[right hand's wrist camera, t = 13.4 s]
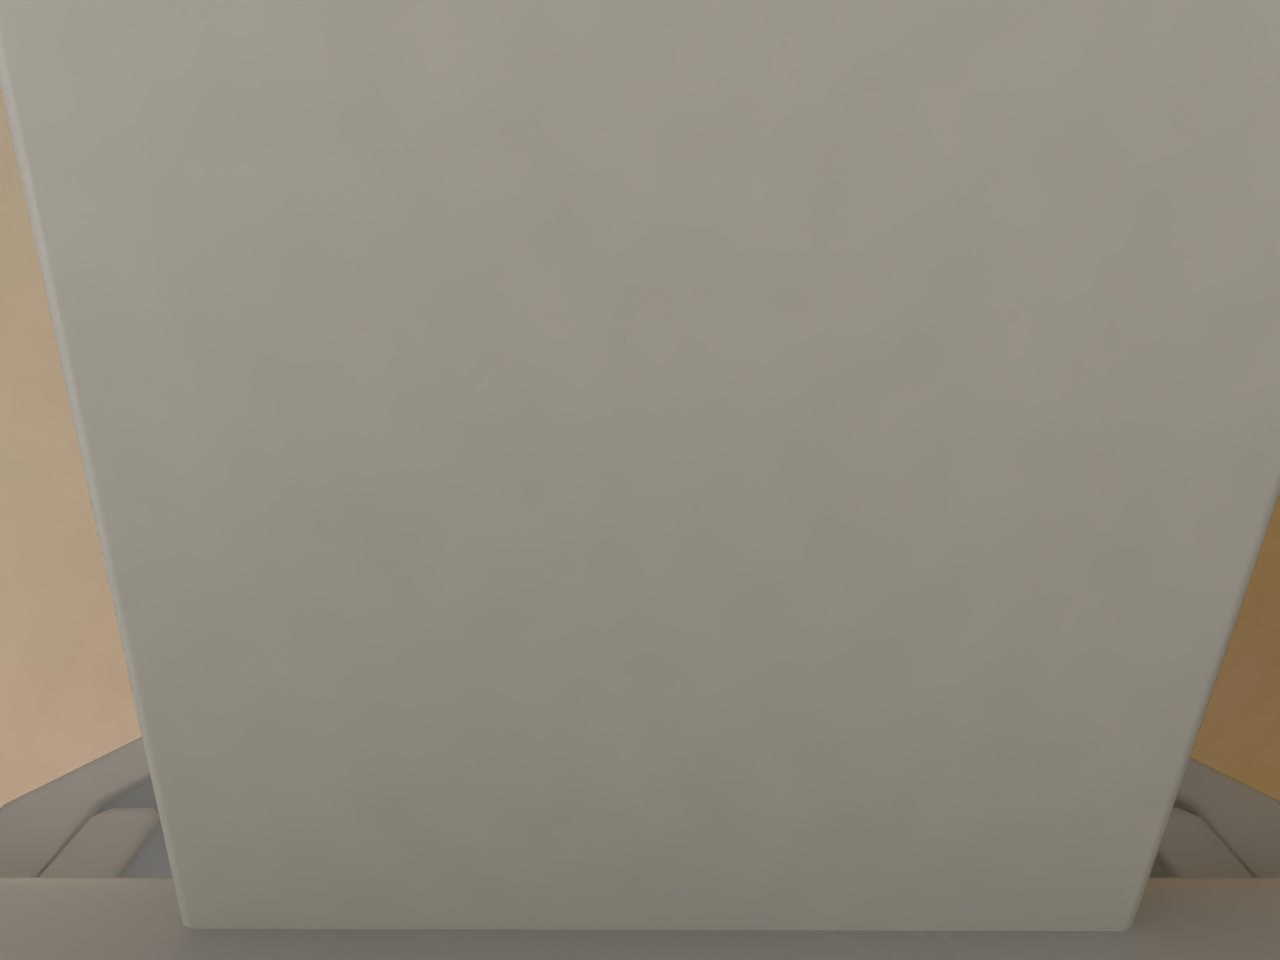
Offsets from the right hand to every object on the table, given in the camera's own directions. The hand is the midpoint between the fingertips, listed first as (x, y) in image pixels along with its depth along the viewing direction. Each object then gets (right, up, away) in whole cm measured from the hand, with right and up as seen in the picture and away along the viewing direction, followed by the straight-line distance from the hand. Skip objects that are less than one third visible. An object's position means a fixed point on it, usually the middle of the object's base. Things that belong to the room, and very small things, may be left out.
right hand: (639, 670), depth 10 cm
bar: (0, +9, +1) cm, 9 cm away
